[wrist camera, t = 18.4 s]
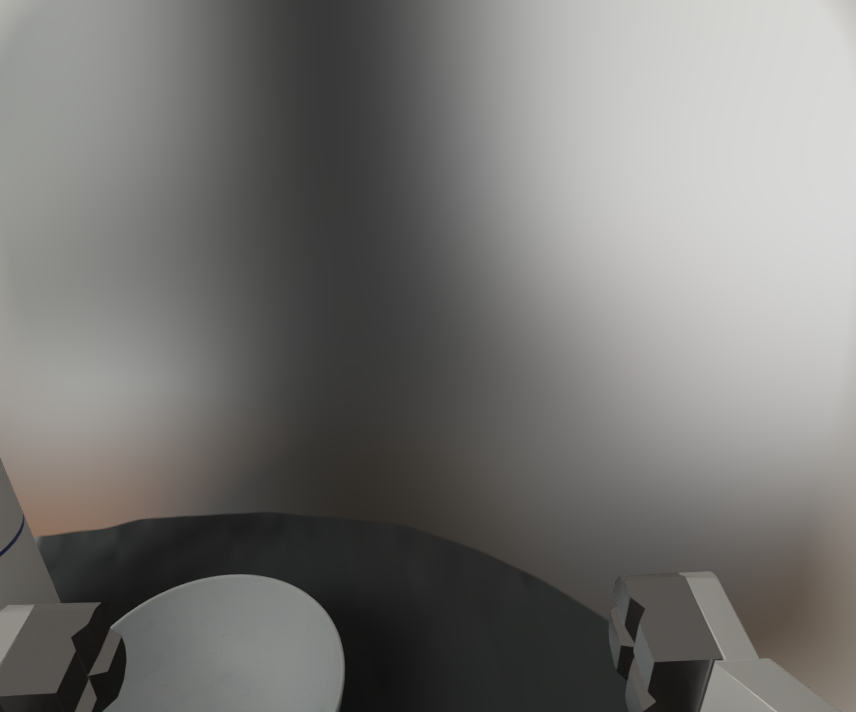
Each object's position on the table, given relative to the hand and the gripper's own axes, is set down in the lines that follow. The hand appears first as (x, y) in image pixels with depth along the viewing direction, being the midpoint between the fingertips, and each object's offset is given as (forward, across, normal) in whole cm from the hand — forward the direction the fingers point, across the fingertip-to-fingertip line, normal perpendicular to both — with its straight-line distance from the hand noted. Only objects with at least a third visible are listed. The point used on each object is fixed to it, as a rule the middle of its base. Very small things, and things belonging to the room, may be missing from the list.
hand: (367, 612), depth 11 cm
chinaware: (+16, -11, -32) cm, 38 cm away
